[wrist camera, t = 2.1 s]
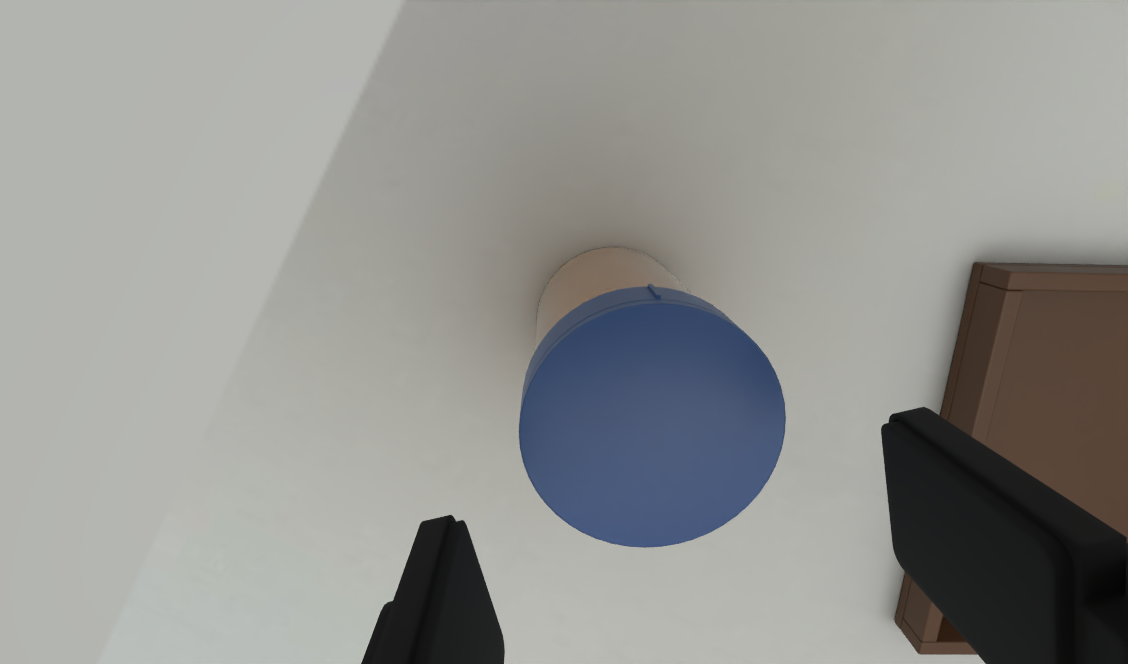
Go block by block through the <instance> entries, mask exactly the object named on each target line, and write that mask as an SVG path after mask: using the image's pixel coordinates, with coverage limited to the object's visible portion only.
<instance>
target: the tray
mask: <svg viewBox="0 0 1128 664" xmlns="http://www.w3.org/2000/svg"><path fill="white" fill-rule="evenodd" d="M940 417H942V418H944V419H945V420H947V421H948V422H950V423H951V424H953V425H954V426H956V427H957V428H959V429H961V430H962V431H964V432H965V433H967V434H968V435H970V436H971V437H973V438H974V439H976V440H978V441H979V442H981V443H982V444H984V445H985V446H987V447H988V448H990V449H991V450H993V451H994V452H996V453H998V454H999V455H1001V456H1002V457H1004V458H1005V459H1007V460H1008V461H1010V462H1011V463H1013V464H1015V465H1016V466H1018V467H1019V468H1021V469H1022V470H1024V471H1025V472H1027V473H1028V474H1030V475H1032V476H1033V477H1035V478H1036V479H1038V480H1039V481H1041V482H1042V483H1044V484H1045V485H1047V486H1048V487H1050V488H1052V489H1053V490H1055V491H1056V492H1058V493H1059V494H1061V495H1062V496H1064V497H1065V498H1067V499H1069V500H1070V501H1072V502H1073V503H1075V504H1076V505H1078V506H1079V507H1081V508H1082V509H1084V510H1086V511H1087V512H1089V513H1090V514H1092V515H1093V516H1095V517H1096V518H1098V519H1099V520H1101V521H1102V522H1104V523H1106V524H1107V525H1109V526H1110V527H1112V528H1113V529H1115V530H1116V531H1118V532H1119V533H1121V534H1123V535H1124V536H1126V537H1127V543H1128V266H1124V265H1076V264H1029V263H982V262H976V263H974V267H973V271H972V276H971V280H970V285H969V289H968V294H967V298H966V303H965V307H964V312H963V316H962V321H961V325H960V330H959V334H958V339H957V343H956V348H955V352H954V357H953V361H952V366H951V370H950V375H949V379H948V384H947V388H946V393H945V397H944V402H943V406H942V411H941V415H940ZM895 623H896V624H897V626H898V627H899V628H900V629H901V631H902V632H903V634H904V635H905V636H906V638H907V639H908V640H909V642H910V643H911V644H912V646H913V647H914V648H915V650H916V651H917V652H918V654H977V653H976V652H975V651H974V649H973V648H972V647H971V646H970V645H969V644H968V643H967V641H966V640H965V639H964V638H963V637H962V636H961V634H960V633H959V632H958V631H957V630H956V629H955V628H954V626H953V625H952V624H951V623H950V622H949V621H948V620H947V618H946V617H945V616H944V615H943V614H942V613H941V612H940V610H939V609H938V608H937V607H936V606H935V605H934V604H933V602H932V601H931V600H930V599H929V598H928V597H927V596H926V594H925V593H924V592H923V591H922V590H921V589H920V588H919V586H918V585H917V584H916V583H915V582H914V581H913V579H912V578H911V577H910V576H909V575H908V574H907V573H905V577H904V582H903V586H902V591H901V595H900V600H899V604H898V609H897V613H896V618H895Z"/></svg>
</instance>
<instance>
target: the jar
mask: <svg viewBox="0 0 1128 664" xmlns="http://www.w3.org/2000/svg"><path fill="white" fill-rule="evenodd" d="M648 284H652V285H653V286H654V287H664V288H670V289H674V290H679V291H683V292H685V293H688V294H691V293H690V292H689V291H688V290H687V289H686V288H685V287H684V286H683V285H682V284H681V283H680V282H679V281H678V280H677V279H676V278H675V277H674V276H673V275H672V274H671V273H670V272H669V271H668V270H667V269H666V268H665V267H664V266H662V265H661V264H660V263H659V262H658V261H656V260H655V259H653V258H652V257H650V256H648V255H646V254H644V253H641V252H639V251H636V250H632V249H628V248H621V247H605V248H599V249H594V250H591V251H588V252H585V253H583V254H580V255H578V256H576V257H574V258H573V259H571V260H570V261H568V262H567V263H566V264H564V265H563V266H562V267H561V268H560V269H559V270H558V271H557V272H556V273H555V274H554V275H553V276H552V278H551V279H550V280H549V282H548V283H547V285H546V287H545V289H544V291H543V293H542V296H541V298H540V301H539V305H538V310H537V321H536V334H535V347H534V353H535V351H536V349H537V347H538V346H539V344H540V343H541V341H542V340H543V338H544V337H545V336H546V334H547V333H548V332H549V331H550V330H551V328H552V327H553V326H554V325H555V324H556V323H557V322H558V321H559V320H560V319H561V318H563V317H564V316H565V315H566V314H568V313H569V312H570V311H571V310H573V309H574V308H576V307H578V306H579V305H581V304H583V303H584V302H586V301H588V300H590V299H592V298H595V297H597V296H599V295H601V294H605V293H608V292H611V291H614V290H619V289H624V288H630V287H644V286H648ZM691 295H692V294H691Z"/></svg>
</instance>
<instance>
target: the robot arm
mask: <svg viewBox="0 0 1128 664" xmlns="http://www.w3.org/2000/svg"><path fill="white" fill-rule="evenodd" d="M881 435H882V444H883V454H884V464H885V474H886V484H887V493H888V503H889V513H890V523H891V532H892V542H893V549H894V552H895V555H896V558H897V560H898V562H899V564H900V565H901V567H902V568H903V569H904V570H905V571H906V573H907V574H908V575H909V576H910V577H911V578H912V579H913V581H914V582H915V583H916V584H917V585H918V586H919V588H920V589H921V590H922V591H923V592H924V593H925V594H926V596H927V597H928V598H929V599H930V600H931V601H932V602H933V604H934V605H935V606H936V607H937V608H938V609H939V610H940V612H941V613H942V614H943V615H944V616H945V617H946V618H947V620H948V621H949V622H950V623H951V624H952V625H953V626H954V628H955V629H956V630H957V631H958V632H959V633H960V634H961V636H962V637H963V638H964V639H965V640H966V641H967V643H968V644H969V645H970V646H971V647H972V648H973V649H974V651H975V652H976V653H977V654H978V655H979V656H980V657H981V659H982V660H983V661H984V662H985V663H986V664H1128V543H1127V537H1126V536H1124V535H1123V534H1121V533H1119V532H1118V531H1116V530H1115V529H1113V528H1112V527H1110V526H1109V525H1107V524H1106V523H1104V522H1102V521H1101V520H1099V519H1098V518H1096V517H1095V516H1093V515H1092V514H1090V513H1089V512H1087V511H1086V510H1084V509H1082V508H1081V507H1079V506H1078V505H1076V504H1075V503H1073V502H1072V501H1070V500H1069V499H1067V498H1065V497H1064V496H1062V495H1061V494H1059V493H1058V492H1056V491H1055V490H1053V489H1052V488H1050V487H1048V486H1047V485H1045V484H1044V483H1042V482H1041V481H1039V480H1038V479H1036V478H1035V477H1033V476H1032V475H1030V474H1028V473H1027V472H1025V471H1024V470H1022V469H1021V468H1019V467H1018V466H1016V465H1015V464H1013V463H1011V462H1010V461H1008V460H1007V459H1005V458H1004V457H1002V456H1001V455H999V454H998V453H996V452H994V451H993V450H991V449H990V448H988V447H987V446H985V445H984V444H982V443H981V442H979V441H978V440H976V439H974V438H973V437H971V436H970V435H968V434H967V433H965V432H964V431H962V430H961V429H959V428H957V427H956V426H954V425H953V424H951V423H950V422H948V421H947V420H945V419H944V418H942V417H940V416H939V415H937V414H936V413H934V412H933V411H931V410H930V409H928V408H925V407H921V408H917V409H912V410H908V411H904V412H899V413H895V414H892V415H891V416H890V418H889V423H887V424H884V425H883V426H882V429H881ZM504 653H505V650H504V640H503V635H502V631H501V628H500V625H499V622H498V619H497V616H496V613H495V610H494V607H493V604H492V601H491V598H490V595H489V592H488V589H487V586H486V583H485V580H484V577H483V574H482V571H481V568H480V565H479V562H478V559H477V556H476V553H475V549H474V546H473V543H472V540H471V537H470V534H469V531H468V528H467V526H466V523H465V522H464V521H463V520H461V521H457V522H456V521H455V519H454V517H453V516H452V515H448V516H444V517H440V518H435V519H431V520H426V521H423V522H421V524H420V526H419V529H418V532H417V535H416V538H415V541H414V543H413V546H412V549H411V552H410V555H409V558H408V560H407V563H406V566H405V569H404V572H403V574H402V577H401V580H400V583H399V586H398V589H397V591H396V594H395V597H394V600H393V601H391V602H388V603H387V604H385V605H384V607H383V609H382V610H381V612H380V615H379V618H378V621H377V623H376V626H375V629H374V631H373V634H372V637H371V639H370V642H369V645H368V647H367V650H366V653H365V655H364V658H363V661H362V663H361V664H504Z"/></svg>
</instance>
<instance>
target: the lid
mask: <svg viewBox="0 0 1128 664" xmlns="http://www.w3.org/2000/svg"><path fill="white" fill-rule="evenodd" d="M785 420H786V417H785V403H784V398H783V394H782V389H781V386H780V383H779V380H778V378H777V375H776V373H775V371H774V369H773V367H772V365H771V363H770V362H769V360H768V358H767V357H766V355H765V354H764V353H763V352H762V350H761V349H760V348H759V346H758V345H757V344H756V343H755V342H754V341H753V340H752V339H751V338H750V337H749V336H748V335H747V334H746V333H745V332H743V331H742V330H741V329H740V328H739V327H738V326H737V325H736V324H735V323H734V322H732V321H731V320H730V319H729V318H728V317H727V316H726V315H725V314H724V313H722V312H721V311H720V310H718V309H717V308H716V307H714V306H713V305H711V304H710V303H708V302H706V301H704V300H702V299H700V298H698V297H696V296H694V295H691V294H688V293H685V292H683V291H679V290H674V289H670V288H664V287H654V286H653V285H652V284H648V286H644V287H630V288H624V289H619V290H614V291H611V292H608V293H605V294H601V295H599V296H597V297H595V298H592V299H590V300H588V301H586V302H584V303H583V304H581V305H579V306H578V307H576V308H574V309H573V310H571V311H570V312H569V313H568V314H566V315H565V316H564V317H563V318H561V319H560V320H559V321H558V322H557V323H556V324H555V325H554V326H553V327H552V328H551V330H550V331H549V332H548V333H547V334H546V336H545V337H544V338H543V340H542V341H541V343H540V344H539V346H538V347H537V349H536V351H535V353H534V355H533V357H532V359H531V361H530V364H529V367H528V369H527V372H526V377H525V381H524V386H523V393H522V402H521V411H520V423H519V441H520V450H521V454H522V459H523V463H524V466H525V468H526V471H527V474H528V477H529V479H530V480H531V482H532V484H533V486H534V488H535V490H536V491H537V493H538V494H539V495H540V497H541V498H542V499H543V501H544V502H545V503H546V504H547V505H548V506H549V507H550V508H551V509H552V511H553V512H554V513H555V514H556V515H558V516H559V517H560V518H561V519H563V520H564V521H565V522H566V523H568V524H569V525H571V526H572V527H574V528H576V529H577V530H579V531H581V532H582V533H585V534H587V535H589V536H591V537H594V538H596V539H599V540H602V541H606V542H609V543H612V544H618V545H623V546H630V547H661V546H668V545H674V544H679V543H682V542H686V541H689V540H693V539H695V538H698V537H700V536H703V535H705V534H708V533H710V532H712V531H713V530H715V529H717V528H719V527H721V526H723V525H724V524H726V523H727V522H728V521H730V520H731V519H733V518H734V517H736V516H737V515H738V514H739V513H740V512H741V511H742V510H744V509H745V508H746V507H747V506H748V505H749V504H750V503H751V502H752V501H753V499H754V498H755V497H756V496H757V495H758V494H759V493H760V491H761V490H762V488H763V487H764V485H765V484H766V482H767V481H768V479H769V478H770V476H771V474H772V472H773V470H774V468H775V466H776V463H777V461H778V458H779V455H780V452H781V449H782V444H783V439H784V434H785Z"/></svg>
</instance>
